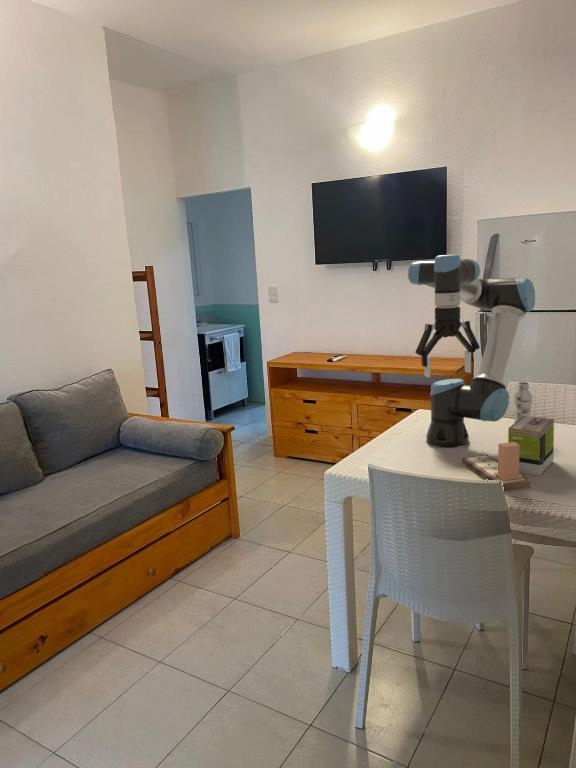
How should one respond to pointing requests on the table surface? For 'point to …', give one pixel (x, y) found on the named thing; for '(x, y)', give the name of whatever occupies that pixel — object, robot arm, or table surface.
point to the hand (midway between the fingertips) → (447, 374)
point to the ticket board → (492, 471)
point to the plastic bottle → (522, 401)
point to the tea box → (533, 443)
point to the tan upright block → (508, 461)
